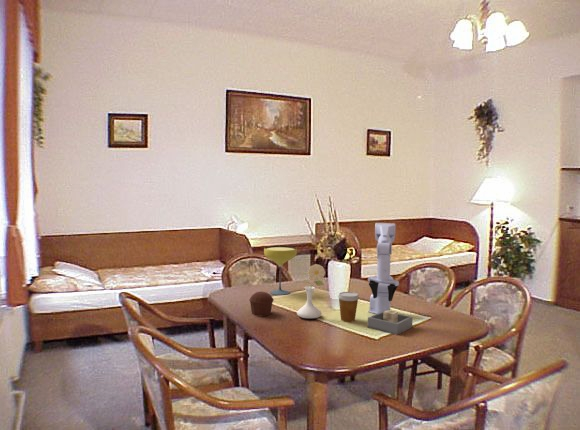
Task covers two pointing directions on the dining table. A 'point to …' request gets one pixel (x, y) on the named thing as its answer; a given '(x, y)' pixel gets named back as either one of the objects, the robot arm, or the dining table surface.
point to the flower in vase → (309, 309)
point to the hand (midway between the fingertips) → (382, 299)
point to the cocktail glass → (280, 260)
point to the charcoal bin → (390, 323)
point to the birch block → (390, 316)
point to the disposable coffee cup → (348, 305)
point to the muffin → (261, 303)
